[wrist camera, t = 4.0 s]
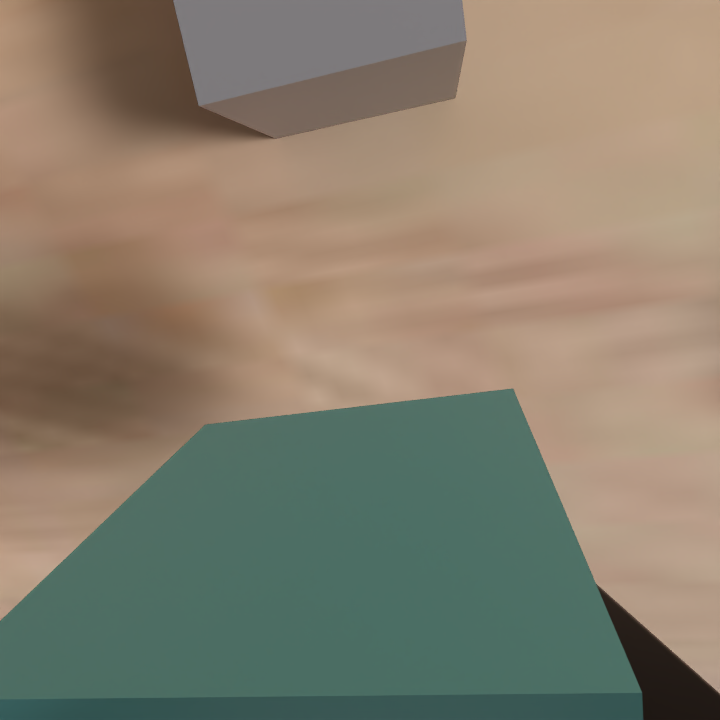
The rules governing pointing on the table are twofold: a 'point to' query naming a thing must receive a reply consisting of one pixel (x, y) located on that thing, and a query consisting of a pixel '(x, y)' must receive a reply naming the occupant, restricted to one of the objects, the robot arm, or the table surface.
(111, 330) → the table surface
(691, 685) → the robot arm
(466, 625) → the teal cube
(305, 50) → the gray cube
